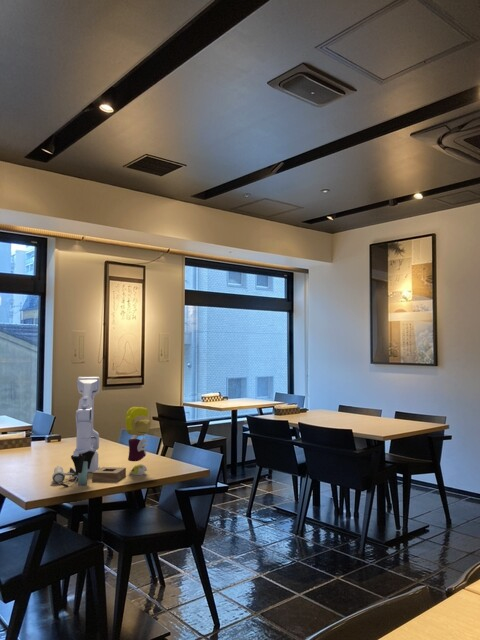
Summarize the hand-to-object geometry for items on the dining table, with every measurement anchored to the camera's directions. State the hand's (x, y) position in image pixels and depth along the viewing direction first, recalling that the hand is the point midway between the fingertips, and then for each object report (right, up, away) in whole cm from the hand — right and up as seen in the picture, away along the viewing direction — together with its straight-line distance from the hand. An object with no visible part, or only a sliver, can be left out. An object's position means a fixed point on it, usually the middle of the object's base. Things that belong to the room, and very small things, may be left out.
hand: (82, 470), depth 210 cm
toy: (+18, -7, +22) cm, 30 cm away
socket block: (+8, -6, +10) cm, 15 cm away
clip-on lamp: (-7, -6, +2) cm, 10 cm away
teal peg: (0, -5, 0) cm, 5 cm away
